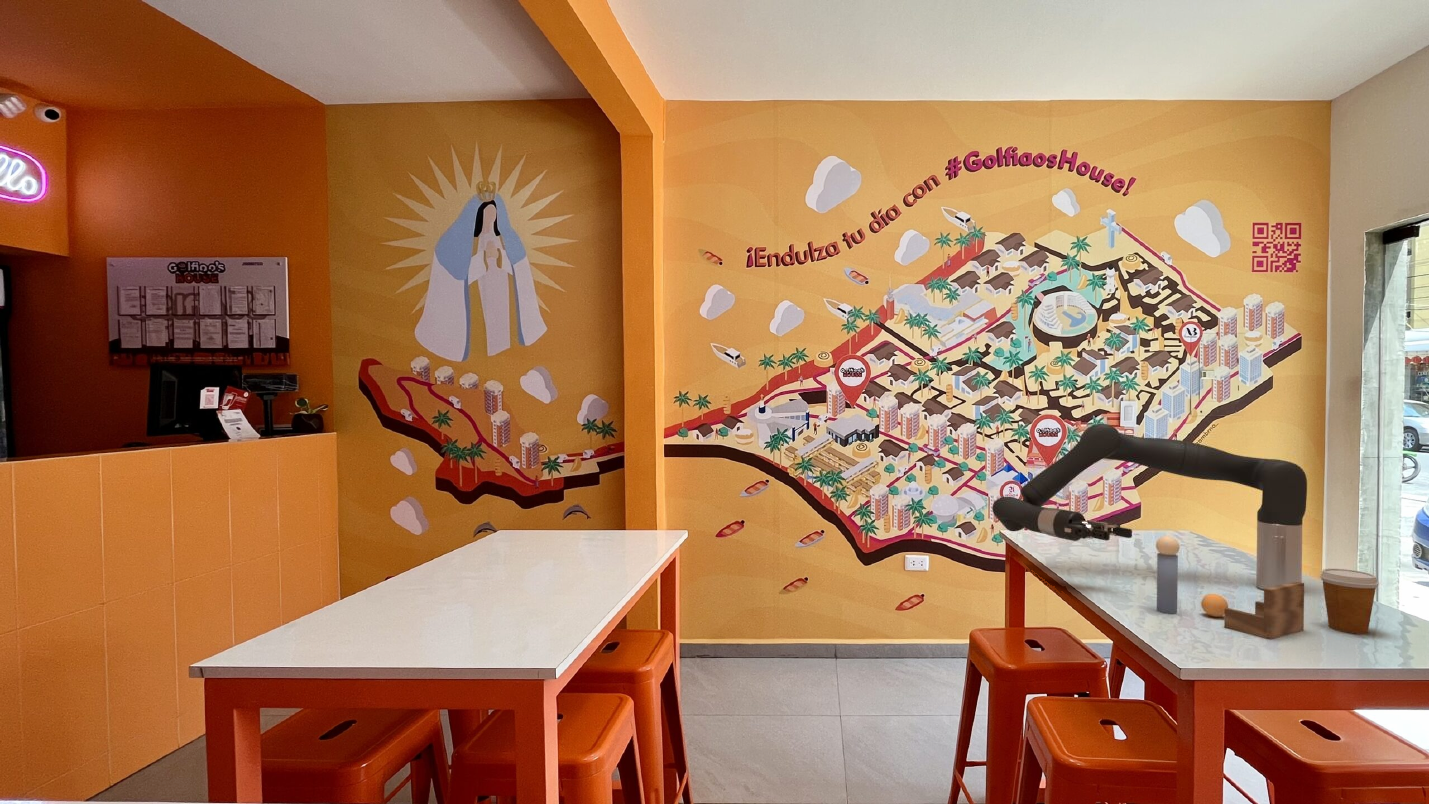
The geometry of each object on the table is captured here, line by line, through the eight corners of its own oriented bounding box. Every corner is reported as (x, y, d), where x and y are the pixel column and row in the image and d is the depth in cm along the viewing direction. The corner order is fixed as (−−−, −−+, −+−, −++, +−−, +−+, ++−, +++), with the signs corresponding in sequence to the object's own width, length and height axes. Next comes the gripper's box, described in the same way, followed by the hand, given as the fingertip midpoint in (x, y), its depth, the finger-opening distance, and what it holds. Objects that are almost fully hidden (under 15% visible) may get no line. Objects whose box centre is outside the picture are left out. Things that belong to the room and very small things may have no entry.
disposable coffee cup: (1354, 623, 159) (1355, 568, 159) (1390, 637, 150) (1391, 579, 150) (1307, 621, 160) (1308, 567, 160) (1340, 635, 151) (1341, 577, 151)
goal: (1257, 619, 162) (1258, 574, 162) (1303, 630, 154) (1304, 583, 154) (1224, 627, 156) (1224, 580, 156) (1270, 639, 148) (1270, 590, 148)
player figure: (1162, 607, 170) (1163, 533, 170) (1183, 612, 166) (1184, 537, 166) (1150, 610, 168) (1151, 535, 168) (1171, 615, 164) (1171, 538, 164)
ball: (1209, 611, 167) (1209, 590, 167) (1232, 617, 162) (1233, 595, 162) (1196, 614, 165) (1196, 592, 165) (1220, 620, 160) (1220, 598, 160)
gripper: (1043, 510, 188) (1101, 521, 173) (1079, 508, 194) (1138, 517, 180) (1042, 539, 188) (1100, 552, 174) (1078, 536, 195) (1138, 548, 180)
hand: (1120, 535), depth 177 cm, fingers open, 8 cm apart
